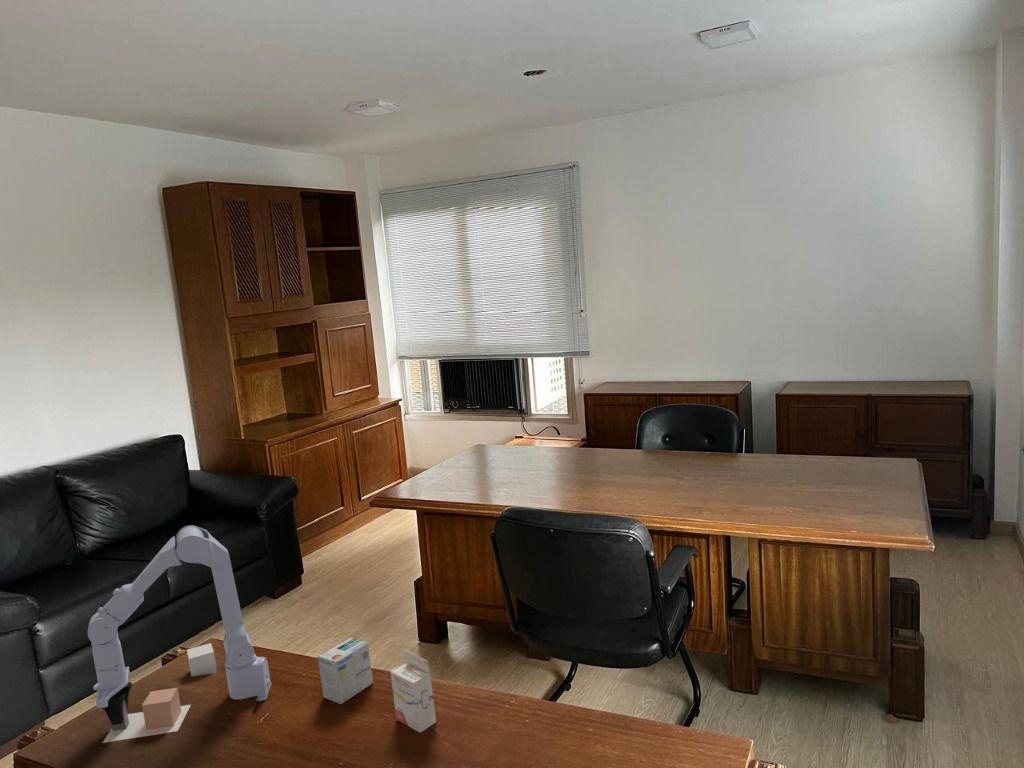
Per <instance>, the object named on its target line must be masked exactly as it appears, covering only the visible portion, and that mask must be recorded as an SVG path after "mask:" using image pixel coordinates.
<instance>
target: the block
mask: <svg viewBox="0 0 1024 768" xmlns="http://www.w3.org/2000/svg"><path fill="white" fill-rule="evenodd" d="M181 706H182V705H181V700H180V694H179V688H178V687H172V688H165V689H159V690H153V691H152V690H151V691H150V692H149V694H148V695H147V696H146V698H145V700H144V701H143V703H142V705H141V708H142V712H143V714H144V720H145V726H146V730H150V729H156V728H163V727H169V726H174V725H175V723H176V721H177V719H178V717H179V715H180V713H181Z"/></svg>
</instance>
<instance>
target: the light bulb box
mask: <svg viewBox="0 0 1024 768" xmlns="http://www.w3.org/2000/svg"><path fill="white" fill-rule="evenodd" d="M317 660H318V667H319V675H320V681H321V688H322V694H323V698H324V699H326V698H327V699H326V700H329V701H331V700H332V702H334V703H337V704H339V705H342V704H344V703H346V702H347V701H348V700H350V698H351V699H352V698H353V697H354V696H356V695H358V694H359V693H360V692H362V691H364V690H365V689H367V688H368V687H369V686H371V685H372V684H373V683H374V680H373V670H372V663H371V656H370V649H369V642H368V641H364V640H360V639H356V638H354V637H348V638H346V639H345V640H343V641H342V642H339V644H337V645H335V646H334V647H332V648H331V649H328V650H327V651H325V652H324V653H321V654H319V655H318V656H317Z"/></svg>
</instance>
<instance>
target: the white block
mask: <svg viewBox="0 0 1024 768" xmlns="http://www.w3.org/2000/svg"><path fill="white" fill-rule="evenodd" d="M186 654H187V660H188V666H189V672H190V675H191V677H196V676H197V677H198V676H203V675H204V676H205V675H210V674H217V673H218V669H217V664H216V658H215V652H214V649H213V645H212V643H207V644H203V645H199V646H195V647H193V648H189V649H186Z"/></svg>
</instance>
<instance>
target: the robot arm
mask: <svg viewBox="0 0 1024 768" xmlns="http://www.w3.org/2000/svg"><path fill="white" fill-rule="evenodd" d="M182 562H185V563H189V564H191V563H192V564H201V565H204V566H206V567H209V568H210V570H211V573H212V577H213V583H214V587H215V591H216V596H217V601H218V606H219V611H220V615H221V619H222V624H223V630H224V637H223V641H222V644H223V647H224V651H225V661H224V668H225V674H226V681H227V688H228V693H229V698H231V699H233V700H244V699H245V700H246V699H248V698H252V697H256V696H257V697H256V699H255V702H256V703H257V702H262V701H263V702H264V701H266V700H267V698H268V695H269V692H270V689H271V686H272V682H271V681H272V680H271V676H270V669H269V662H268V659H267V657H265V656H257V655H256V653H255V650H254V647H253V645H252V641H251V635H250V633H249V632H248V631H247V629H246V627H245V623H244V620H243V614H242V609H241V606H240V605H241V604H240V600H239V595H238V591H237V586H236V582H235V577H234V572H233V567H232V562H231V558H230V554H229V551H228V549H227V548H226V546H224V545H223V544H221V542H219V541H218V540H217V539H216V538H215V537H213V535H211V534H210V532H209V531H208V530H207V529H204V528H202V527H199V526H196V525H186V526H184V527H182V528H181V529H179V530H178V531H177V534H176V536H175V535H174V536H172V537H171V538H170V539H168V541H167V542H166V544H164V545H163V547H162V548H161V549H160V550H159V551H158V552H157V554H155V556H154V557H153V559H152V560H151V561H150V562H149V563H148V564H147V565H146V567H145V568H144V569H143V570H142V571H141V573H139V575H138V576H137V577H136V578H135V579H134V581H133V582H132V583H127V584H123V585H122V586H121V587H119V588H115V589H114V591H113V592H112V595H113V596H112V597H111V598H110V599H109V600H108V601H107V602H106V604H105V605H103V607H102V606H100V607H99V608H98V609H97V612H95V614H93V615H92V616H91V618H90V619H89V623H88V628H87V637H88V639H89V641H90V644H91V647H92V649H91V652H92V656H93V662H94V663H93V664H94V668H95V673H96V674H95V675H96V678H97V683H95V685H94V686H93V691H97V698H96V700H95V704H96V708H97V709H102V710H103V711H104V713H105V714H106V716H107V717H108V719H109V721H110V724H111V723H112V725H116V724H122V722H123V702H124V700H125V702H126V707H127V711H129V709H128V708H129V707H128V706H129V698H130V693H131V689H132V686H133V683H132V682H131V681H129V676H130V675H131V672H130V666H125V660H124V655H123V648H122V645H121V644H122V643H121V641H120V639H119V634H118V633H119V632H118V628H119V626H121V625H123V624H124V623H125V622H126V621H127V620H128V619H129V618H130V616H131V615H132V614H133V613H134V612H135V611H136V610H137V609H138V607H140V605H141V604H142V603H143V602H144V597H145V596H144V593H145V592H146V591H147V590H148V589H149V588H150V587H151V586H152V585H153V584H154V582H155V581H157V579H159V577H161V575H163V574H164V572H166V570H167V569H168V568H170V567H176V566H181V565H182Z"/></svg>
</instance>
